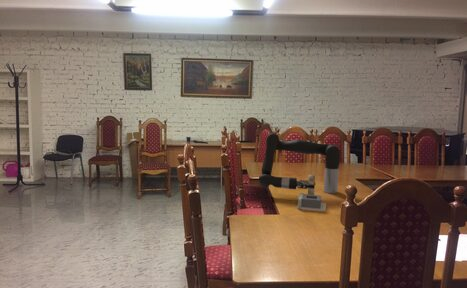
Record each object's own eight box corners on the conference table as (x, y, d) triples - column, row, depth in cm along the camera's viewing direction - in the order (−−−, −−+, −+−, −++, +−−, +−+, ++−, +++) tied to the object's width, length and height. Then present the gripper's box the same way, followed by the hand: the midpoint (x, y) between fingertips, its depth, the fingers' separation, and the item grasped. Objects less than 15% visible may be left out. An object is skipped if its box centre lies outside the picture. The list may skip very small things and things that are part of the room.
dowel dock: (299, 202, 229) (300, 193, 228) (326, 204, 224) (326, 195, 224) (297, 208, 215) (298, 199, 215) (325, 211, 211) (325, 201, 210)
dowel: (307, 198, 238) (308, 174, 236) (314, 198, 237) (315, 174, 235) (307, 199, 234) (308, 175, 232) (313, 200, 233) (314, 176, 231)
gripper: (287, 179, 231) (314, 182, 226) (290, 175, 245) (315, 177, 240) (287, 191, 232) (314, 193, 227) (290, 186, 246) (315, 188, 241)
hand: (314, 185), depth 234 cm, fingers open, 7 cm apart
